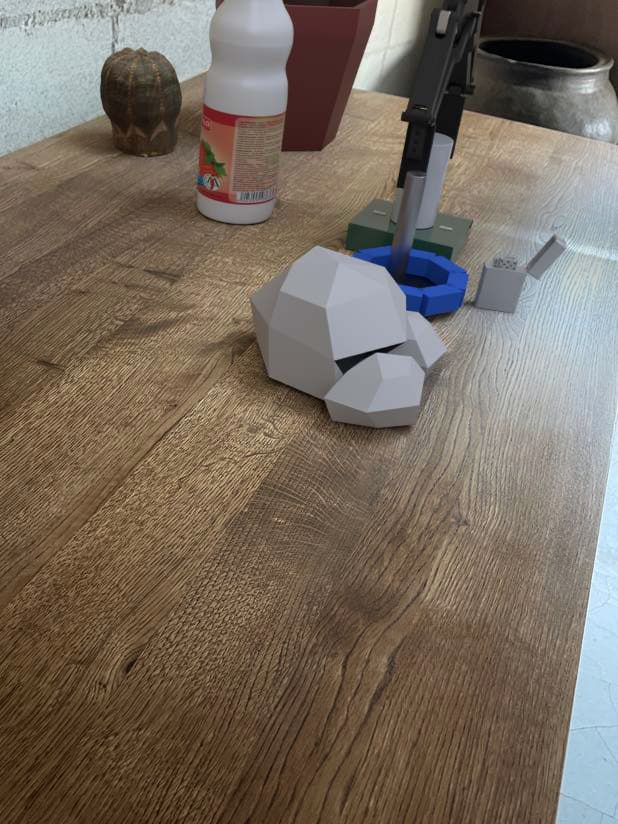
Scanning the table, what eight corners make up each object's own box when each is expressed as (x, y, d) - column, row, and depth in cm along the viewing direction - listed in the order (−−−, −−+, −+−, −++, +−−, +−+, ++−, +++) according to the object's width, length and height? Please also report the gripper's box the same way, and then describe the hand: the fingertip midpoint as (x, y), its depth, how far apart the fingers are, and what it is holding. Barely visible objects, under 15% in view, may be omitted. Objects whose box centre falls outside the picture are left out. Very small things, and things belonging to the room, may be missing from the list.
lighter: (474, 307, 95) (495, 231, 90) (473, 300, 96) (494, 224, 91) (544, 317, 94) (569, 241, 89) (542, 310, 96) (567, 234, 90)
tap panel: (466, 245, 108) (473, 218, 106) (447, 273, 101) (454, 245, 99) (369, 222, 112) (374, 196, 110) (344, 248, 104) (348, 221, 102)
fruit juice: (266, 231, 107) (300, -54, 89) (187, 218, 108) (205, -65, 90) (278, 204, 114) (312, -64, 96) (204, 193, 115) (224, -74, 97)
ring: (467, 278, 98) (472, 260, 97) (457, 324, 89) (462, 304, 88) (357, 256, 100) (360, 239, 99) (336, 299, 91) (339, 280, 90)
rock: (442, 343, 88) (468, 245, 81) (439, 456, 72) (470, 345, 66) (255, 312, 90) (266, 214, 83) (213, 416, 74) (223, 305, 68)
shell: (104, 131, 132) (105, 38, 124) (181, 138, 132) (186, 46, 124) (95, 155, 123) (94, 56, 116) (176, 162, 123) (181, 64, 116)
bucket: (286, 106, 150) (308, -76, 134) (391, 144, 138) (429, -52, 123) (172, 126, 136) (182, -75, 121) (278, 169, 125) (304, -48, 109)
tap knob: (397, 209, 107) (414, 125, 101) (438, 219, 106) (459, 134, 100) (385, 222, 103) (402, 135, 97) (428, 232, 102) (448, 145, 96)
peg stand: (444, 286, 98) (473, 171, 91) (423, 317, 92) (452, 196, 84) (364, 266, 101) (385, 152, 93) (338, 295, 94) (359, 176, 87)
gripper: (485, -39, 78) (431, 212, 91) (534, -62, 96) (482, 150, 109) (399, -50, 80) (359, 196, 93) (463, -71, 98) (421, 138, 111)
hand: (425, 172), depth 101 cm, fingers open, 13 cm apart
